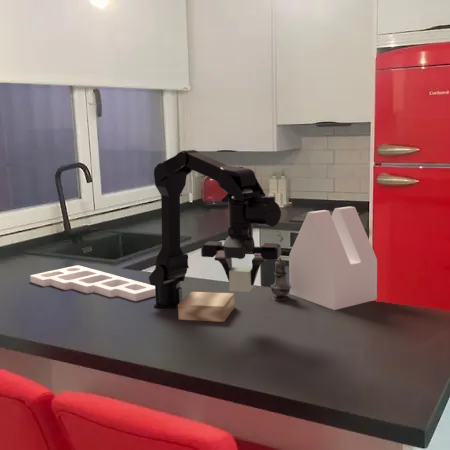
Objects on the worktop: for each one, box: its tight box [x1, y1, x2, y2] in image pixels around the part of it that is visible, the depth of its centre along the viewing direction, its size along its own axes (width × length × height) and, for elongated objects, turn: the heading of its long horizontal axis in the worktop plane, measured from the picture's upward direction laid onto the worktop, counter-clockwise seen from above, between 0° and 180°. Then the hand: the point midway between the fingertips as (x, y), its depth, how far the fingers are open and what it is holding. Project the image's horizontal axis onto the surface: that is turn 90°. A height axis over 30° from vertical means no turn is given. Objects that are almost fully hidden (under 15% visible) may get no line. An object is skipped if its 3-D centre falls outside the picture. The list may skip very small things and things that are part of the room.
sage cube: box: [228, 265, 255, 293], centre depth 153 cm, size 5×5×5 cm
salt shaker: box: [269, 257, 291, 302], centre depth 175 cm, size 6×6×12 cm
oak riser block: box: [177, 291, 236, 323], centre depth 165 cm, size 12×12×4 cm
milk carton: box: [288, 206, 378, 311], centre depth 175 cm, size 19×15×25 cm
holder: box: [29, 264, 156, 302], centre depth 194 cm, size 45×18×3 cm, turn 45°
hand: (241, 284), depth 153 cm, fingers closed on sage cube, 5 cm apart
